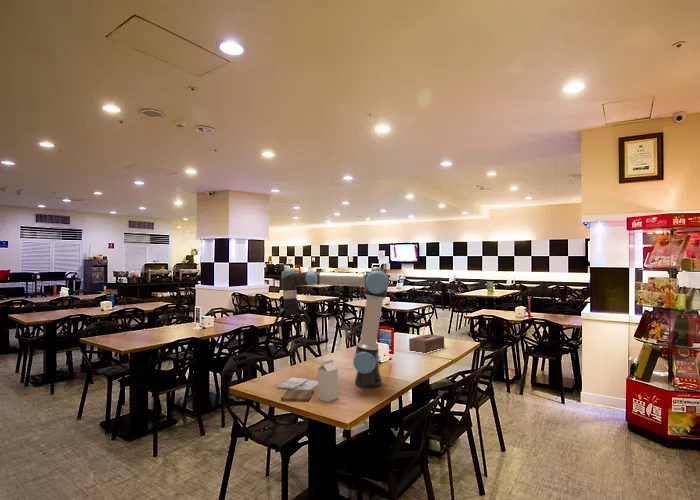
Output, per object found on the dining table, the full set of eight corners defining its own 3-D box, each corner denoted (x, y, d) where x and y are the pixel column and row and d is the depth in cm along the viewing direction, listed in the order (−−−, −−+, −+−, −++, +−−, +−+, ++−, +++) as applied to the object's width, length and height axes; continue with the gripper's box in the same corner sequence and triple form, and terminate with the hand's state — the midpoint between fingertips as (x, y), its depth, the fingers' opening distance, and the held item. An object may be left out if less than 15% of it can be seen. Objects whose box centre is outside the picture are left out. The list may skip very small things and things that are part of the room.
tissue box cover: (425, 354, 292) (424, 341, 293) (409, 351, 303) (409, 338, 303) (444, 349, 310) (444, 336, 311) (428, 346, 321) (428, 334, 321)
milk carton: (338, 398, 199) (337, 360, 200) (327, 402, 194) (327, 363, 195) (328, 395, 204) (327, 358, 205) (318, 399, 199) (317, 361, 200)
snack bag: (293, 379, 234) (293, 376, 234) (324, 383, 227) (324, 379, 227) (275, 389, 217) (275, 385, 217) (308, 393, 209) (308, 389, 209)
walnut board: (314, 392, 209) (313, 389, 209) (308, 401, 195) (308, 398, 195) (288, 392, 210) (288, 389, 210) (280, 401, 196) (280, 398, 196)
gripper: (313, 295, 222) (316, 334, 219) (268, 300, 220) (271, 338, 218) (312, 296, 214) (316, 335, 212) (266, 300, 213) (269, 340, 210)
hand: (293, 337), depth 215 cm, fingers open, 13 cm apart
